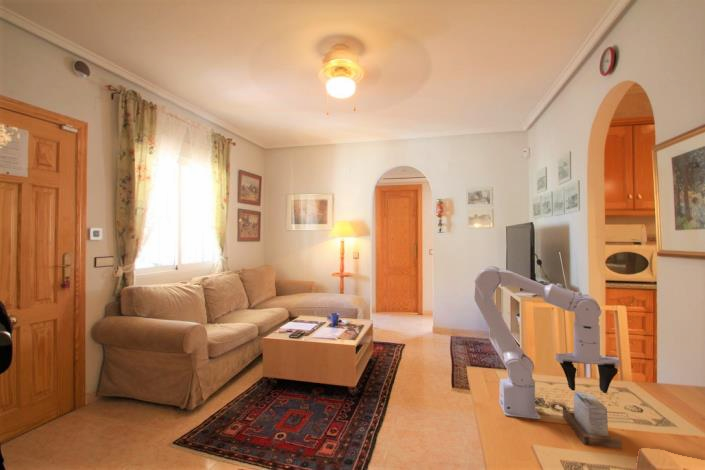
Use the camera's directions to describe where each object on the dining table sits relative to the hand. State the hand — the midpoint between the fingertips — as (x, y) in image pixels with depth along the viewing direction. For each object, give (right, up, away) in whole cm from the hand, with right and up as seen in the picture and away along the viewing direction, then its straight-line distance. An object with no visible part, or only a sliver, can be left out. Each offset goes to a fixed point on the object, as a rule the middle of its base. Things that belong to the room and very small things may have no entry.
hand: (587, 390), depth 85 cm
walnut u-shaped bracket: (0, -10, -1) cm, 11 cm away
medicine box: (0, -11, -1) cm, 11 cm away
